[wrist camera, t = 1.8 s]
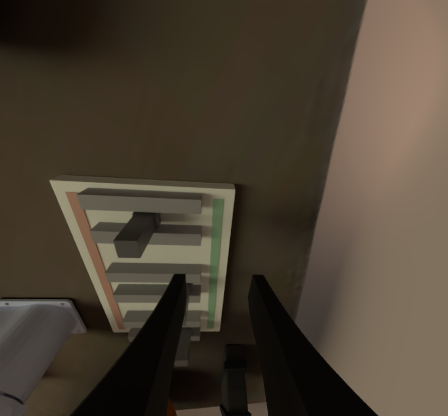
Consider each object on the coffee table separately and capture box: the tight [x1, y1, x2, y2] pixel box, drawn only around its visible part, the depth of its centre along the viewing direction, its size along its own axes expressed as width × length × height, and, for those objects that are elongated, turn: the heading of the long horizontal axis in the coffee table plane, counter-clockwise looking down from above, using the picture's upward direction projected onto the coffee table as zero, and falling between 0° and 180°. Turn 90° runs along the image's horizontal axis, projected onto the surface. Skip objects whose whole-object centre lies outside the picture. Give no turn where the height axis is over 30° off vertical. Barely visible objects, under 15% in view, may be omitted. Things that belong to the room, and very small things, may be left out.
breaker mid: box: [182, 283, 193, 326], centre depth 19 cm, size 2×2×5 cm
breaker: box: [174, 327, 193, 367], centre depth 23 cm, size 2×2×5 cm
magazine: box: [219, 345, 251, 416], centre depth 30 cm, size 4×13×15 cm, turn 175°
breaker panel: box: [49, 175, 235, 342], centre depth 21 cm, size 16×24×3 cm, turn 176°
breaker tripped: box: [113, 212, 161, 258], centre depth 14 cm, size 2×2×5 cm
